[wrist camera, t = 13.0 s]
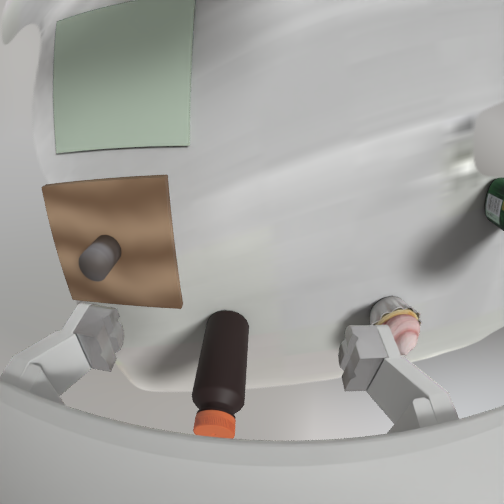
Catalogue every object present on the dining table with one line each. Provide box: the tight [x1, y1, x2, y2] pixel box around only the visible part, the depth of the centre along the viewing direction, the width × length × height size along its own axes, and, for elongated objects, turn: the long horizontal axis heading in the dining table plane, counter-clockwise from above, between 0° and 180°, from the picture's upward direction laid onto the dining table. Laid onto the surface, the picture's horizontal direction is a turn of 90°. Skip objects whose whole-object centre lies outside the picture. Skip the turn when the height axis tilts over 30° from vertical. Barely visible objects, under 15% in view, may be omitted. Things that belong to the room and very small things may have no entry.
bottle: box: [192, 310, 249, 439], centre depth 40 cm, size 7×7×20 cm
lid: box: [42, 175, 183, 309], centre depth 31 cm, size 16×16×5 cm
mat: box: [53, 0, 195, 153], centre depth 30 cm, size 20×20×1 cm
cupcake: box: [370, 296, 422, 355], centre depth 42 cm, size 9×9×10 cm
